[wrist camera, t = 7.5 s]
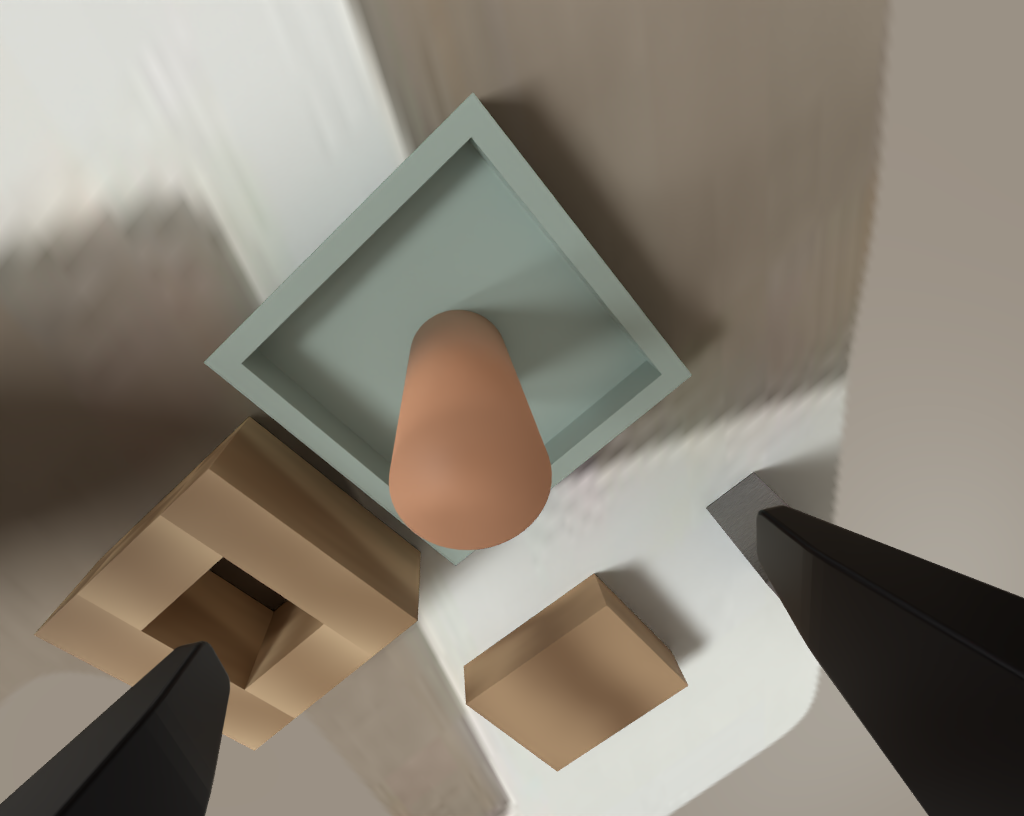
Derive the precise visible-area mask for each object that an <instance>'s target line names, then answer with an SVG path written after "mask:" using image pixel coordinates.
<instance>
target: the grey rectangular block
mask: <svg viewBox="0 0 1024 816" xmlns="http://www.w3.org/2000/svg"><path fill="white" fill-rule="evenodd" d="M778 505H784V506H787V507H789V506H788V505H787V504H786V503H785V502H784V501H783V500H782V499H781V498H780V497H779V496H778V495H777V494H776V493H775V492H774V491H772V490H771V489H770V488H769V487H768V486H767V485H766V484H765V483H764V482H763V481H762V480H761V479H760V478H759V477H758V476H757V475H756V474H755V473H752V474H751V475H750V476H748V477H747V478H746V479H744V480H743V481H742V482H740V483H739V484H738V485H736V486H735V487H734V488H732V489H731V490H730V491H728V492H727V493H726V494H724V495H723V496H722V497H720V498H719V499H718V500H716V501H715V502H714V503H712V504H711V505H710V506H708V507H707V508H706V509H707V510H708V511H709V512H710V514H711V515H712V516H713V517H714V519H715V520H716V521H717V522H718V524H719V525H720V526H721V527H722V529H723V530H724V531H725V532H726V534H727V535H728V536H729V537H730V539H731V540H732V541H733V542H734V544H735V545H736V546H737V547H738V549H739V550H740V551H741V552H742V554H743V555H744V556H745V557H746V559H747V560H748V561H749V562H750V564H751V565H752V566H753V567H754V569H755V570H756V571H757V572H758V574H759V575H760V576H761V577H762V579H763V580H764V581H765V582H766V584H767V585H768V586H769V587H770V588H771V589H772V590H773V591H774V593H775V594H776V595H777V596H778V594H777V593H776V591H775V589H774V587H773V586H772V584H771V582H770V581H769V579H768V577H767V575H766V574H765V572H764V570H763V568H762V567H761V565H760V562H759V560H758V557H757V553H756V515H757V513H758V511H760V510H761V509H765V508H770V507H774V506H778ZM778 597H779V596H778Z"/></svg>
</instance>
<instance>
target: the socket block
mask: <svg viewBox="0 0 1024 816" xmlns="http://www.w3.org/2000/svg"><path fill="white" fill-rule="evenodd" d="M222 557H224V558H226V559H227V560H229V561H230V562H232V563H233V564H235V565H236V566H238V567H239V568H241V569H242V570H244V571H245V572H247V573H248V574H250V575H251V576H253V577H254V578H256V579H257V580H259V581H260V582H262V583H263V584H265V585H266V586H268V587H269V588H271V589H272V590H274V591H275V592H277V593H278V594H280V595H281V596H283V597H284V598H286V599H287V601H286V602H285V603H284V604H283V605H281V606H280V607H279V608H278V609H277V610H276V611H274V612H273V611H272V610H270V609H268V608H267V607H265V606H264V605H262V604H261V603H259V602H258V601H256V600H255V599H253V598H251V597H250V596H248V595H247V594H245V593H244V592H242V591H241V590H239V589H238V588H236V587H234V586H233V585H231V584H230V583H228V582H227V581H225V580H224V579H222V578H221V577H219V576H218V575H216V574H214V573H213V572H211V571H210V570H209V569H210V568H211V567H212V566H214V565H215V564H216V563H217V562H218V561H219V560H220V559H221V558H222ZM420 559H421V552H420V551H418V550H417V549H416V548H415V547H413V546H412V545H411V544H410V543H408V542H407V541H406V540H405V539H403V538H402V537H401V536H400V535H398V534H397V533H396V532H395V531H393V530H392V529H391V528H389V527H388V526H387V525H386V524H384V523H383V522H382V521H381V520H379V519H378V518H377V517H376V516H374V515H373V514H372V513H371V512H369V511H368V510H367V509H366V508H364V507H363V506H362V505H361V504H359V503H358V502H357V501H355V500H354V499H353V498H352V497H350V496H349V495H348V494H347V493H345V492H344V491H343V490H342V489H340V488H339V487H338V486H337V485H335V484H334V483H333V482H332V481H330V480H329V479H328V478H327V477H325V476H324V475H323V474H321V473H320V472H319V471H318V470H316V469H315V468H314V467H313V466H311V465H310V464H309V463H308V462H306V461H305V460H304V459H303V458H301V457H300V456H299V455H298V454H296V453H295V452H294V451H293V450H291V449H290V448H289V447H287V446H286V445H285V444H284V443H282V442H281V441H280V440H279V439H277V438H276V437H275V436H274V435H272V434H271V433H270V432H269V431H267V430H266V429H265V428H264V427H262V426H261V425H260V424H258V423H257V422H256V421H255V420H253V419H252V418H251V417H250V416H249V417H248V418H247V419H246V420H245V421H244V422H243V423H242V424H241V425H240V426H239V427H238V428H237V429H236V430H235V431H234V432H233V433H232V434H231V435H229V436H228V437H227V438H226V439H225V440H224V441H223V442H222V443H221V444H220V445H219V446H218V447H217V448H216V449H215V450H214V451H213V452H212V453H211V454H210V455H209V456H208V457H206V458H205V459H204V460H203V461H202V462H201V463H200V464H199V465H198V466H197V467H196V468H195V469H194V470H193V471H192V472H191V473H190V474H189V475H188V476H187V477H186V478H185V479H183V480H182V481H181V482H180V483H179V484H178V485H177V486H176V487H175V488H174V489H173V490H172V491H171V492H170V493H169V494H168V495H167V496H166V497H165V498H164V499H163V500H161V501H160V502H159V503H158V504H157V505H156V506H155V507H154V508H153V509H152V510H151V511H150V512H149V513H148V514H147V515H146V516H145V517H144V518H143V519H142V520H141V521H140V522H138V523H137V524H136V525H135V526H134V527H133V528H132V529H131V530H130V531H129V532H128V533H127V534H126V535H125V536H124V537H123V538H122V539H121V540H120V541H119V542H118V543H116V544H115V545H114V546H113V547H112V548H111V549H110V550H109V551H108V552H107V553H106V554H105V555H104V556H103V557H102V558H101V559H100V560H99V561H98V562H97V563H96V564H95V566H94V567H93V568H92V569H91V570H90V571H89V572H88V574H87V575H86V576H85V577H84V578H83V579H82V580H81V582H80V583H79V584H78V585H77V586H76V587H75V588H74V590H73V591H72V592H71V593H70V594H69V595H68V596H67V598H66V599H65V600H64V601H63V602H62V603H61V604H60V606H59V607H58V608H57V609H56V610H55V611H54V612H53V614H52V615H51V616H50V617H49V618H48V619H47V620H46V622H45V623H44V624H43V625H42V626H41V627H40V628H39V630H38V631H37V632H36V633H35V634H34V635H35V636H37V637H39V638H41V639H43V640H45V641H46V642H48V643H50V644H52V645H54V646H56V647H58V648H60V649H62V650H64V651H66V652H67V653H69V654H71V655H73V656H75V657H77V658H79V659H81V660H83V661H85V662H87V663H88V664H90V665H92V666H94V667H96V668H98V669H100V670H102V671H104V672H106V673H107V674H109V675H111V676H113V677H115V678H117V679H119V680H121V681H123V682H125V683H127V684H128V685H130V686H132V687H133V686H134V685H135V684H136V683H137V682H138V681H139V680H141V679H142V678H143V677H144V676H145V675H146V674H147V673H148V672H150V671H151V670H152V669H153V668H154V667H155V666H156V665H157V664H159V663H160V662H161V661H162V660H163V659H164V658H165V657H166V656H167V655H169V654H170V653H171V652H172V651H173V650H174V649H176V648H177V647H179V646H182V645H185V644H189V643H194V642H198V641H206V642H208V643H210V644H211V646H212V647H213V649H214V651H215V653H216V654H217V656H218V658H219V660H220V661H221V663H222V665H223V667H224V668H225V670H226V672H227V674H228V676H229V680H230V695H229V700H228V705H227V711H226V716H225V722H224V727H223V732H222V734H224V735H226V736H228V737H229V738H231V739H233V740H235V741H237V742H239V743H241V744H243V745H245V746H247V747H249V748H251V749H252V750H256V749H257V748H258V747H260V746H261V745H262V744H263V743H265V742H266V741H267V740H268V739H270V738H271V737H272V736H273V735H275V734H276V733H277V732H278V731H280V730H281V729H282V728H283V727H284V726H286V725H287V724H288V723H290V722H291V721H292V720H293V719H295V718H296V717H297V716H299V715H300V714H301V713H302V712H304V711H305V710H306V709H307V708H309V707H310V706H311V705H312V704H314V703H315V702H316V701H317V700H319V699H320V698H321V697H322V696H324V695H325V694H326V693H327V692H329V691H330V690H331V689H332V688H334V687H335V686H336V685H337V684H339V683H340V682H341V681H342V680H344V679H345V678H346V677H347V676H349V675H350V674H351V673H352V672H354V671H355V670H356V669H358V668H359V667H360V666H361V665H363V664H364V663H365V662H366V661H368V660H369V659H370V658H371V657H373V656H374V655H375V654H376V653H378V652H379V651H380V650H381V649H383V648H384V647H385V646H386V645H388V644H389V643H390V642H391V641H393V640H394V639H395V638H396V637H398V636H399V635H400V634H401V633H403V632H404V631H405V630H406V629H408V628H409V627H410V626H411V625H413V624H414V623H415V622H416V621H418V602H419V580H420Z"/></svg>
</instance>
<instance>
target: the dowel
mask: <svg viewBox="0 0 1024 816" xmlns="http://www.w3.org/2000/svg"><path fill="white" fill-rule="evenodd" d="M551 483H552V470H551V463H550V459H549V456H548V453H547V450H546V448H545V445H544V443H543V440H542V438H541V435H540V432H539V430H538V427H537V425H536V422H535V420H534V417H533V415H532V412H531V409H530V407H529V404H528V402H527V399H526V397H525V394H524V392H523V389H522V386H521V384H520V381H519V379H518V376H517V374H516V371H515V369H514V366H513V363H512V361H511V358H510V356H509V353H508V351H507V348H506V346H505V343H504V340H503V338H502V336H501V334H500V332H499V331H498V329H497V328H496V327H495V326H494V325H493V324H492V323H491V322H490V321H489V320H488V319H486V318H485V317H483V316H481V315H479V314H477V313H474V312H471V311H467V310H450V311H445V312H442V313H439V314H437V315H435V316H433V317H432V318H430V319H429V320H427V321H426V322H425V323H424V324H423V325H422V326H421V327H420V328H419V330H418V331H417V332H416V334H415V336H414V338H413V341H412V344H411V349H410V354H409V360H408V366H407V372H406V378H405V384H404V390H403V396H402V402H401V407H400V413H399V419H398V425H397V431H396V437H395V443H394V449H393V455H392V461H391V467H390V472H389V491H390V496H391V500H392V503H393V505H394V508H395V510H396V512H397V513H398V515H399V517H400V518H401V519H402V521H403V522H404V523H405V524H406V526H408V527H409V528H410V529H411V530H412V531H413V532H414V533H416V534H417V535H418V536H420V537H421V538H423V539H425V540H427V541H429V542H431V543H433V544H436V545H438V546H442V547H446V548H450V549H457V550H477V549H484V548H489V547H492V546H496V545H499V544H501V543H504V542H506V541H508V540H510V539H512V538H514V537H516V536H517V535H519V534H520V533H521V532H523V531H524V530H525V529H526V528H527V527H529V526H530V525H531V524H532V523H533V522H534V520H535V519H536V518H537V517H538V516H539V514H540V513H541V511H542V510H543V508H544V506H545V504H546V502H547V499H548V496H549V493H550V489H551Z"/></svg>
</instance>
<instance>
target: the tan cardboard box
mask: <svg viewBox="0 0 1024 816" xmlns="http://www.w3.org/2000/svg"><path fill="white" fill-rule="evenodd" d="M464 677H465V695H466V705H468V706H469V707H470V708H472V709H473V710H475V711H476V712H477V713H479V714H480V715H481V716H483V717H484V718H485V719H487V720H488V721H489V722H491V723H492V724H494V725H495V726H496V727H498V728H499V729H500V730H502V731H503V732H504V733H506V734H507V735H508V736H510V737H511V738H513V739H514V740H515V741H517V742H518V743H519V744H521V745H522V746H523V747H525V748H526V749H527V750H529V751H530V752H532V753H533V754H534V755H536V756H537V757H538V758H540V759H541V760H542V761H544V762H545V763H547V764H548V765H549V766H551V767H552V768H553V769H555V770H556V771H559V770H560V769H562V768H563V767H565V766H566V765H568V764H569V763H571V762H573V761H574V760H576V759H577V758H579V757H580V756H582V755H583V754H585V753H586V752H588V751H589V750H591V749H592V748H594V747H595V746H597V745H598V744H600V743H602V742H603V741H605V740H606V739H608V738H609V737H611V736H612V735H614V734H615V733H617V732H618V731H620V730H621V729H623V728H624V727H626V726H627V725H629V724H630V723H632V722H634V721H635V720H637V719H638V718H640V717H641V716H643V715H644V714H646V713H647V712H649V711H650V710H652V709H653V708H655V707H656V706H658V705H659V704H661V703H663V702H664V701H666V700H667V699H669V698H670V697H672V696H673V695H675V694H676V693H678V692H679V691H681V690H682V689H684V688H685V687H687V686H688V684H687V682H686V680H685V678H684V676H683V674H682V672H681V670H680V668H679V666H678V664H677V662H676V660H675V658H674V656H673V654H672V652H671V651H670V650H669V649H668V648H667V647H666V646H665V644H664V643H663V642H662V641H661V640H660V639H659V638H658V637H657V636H656V635H655V634H654V633H653V632H652V631H651V630H650V629H649V628H648V627H647V626H646V625H645V624H644V623H643V622H642V621H641V620H640V619H639V618H638V617H637V616H636V615H635V614H634V613H633V612H632V611H631V610H630V609H629V608H628V607H627V606H626V605H625V604H624V603H623V602H622V601H621V600H620V599H619V598H618V597H617V596H616V595H615V594H614V593H613V592H612V591H611V590H610V589H609V588H608V587H607V586H606V585H605V584H604V583H603V582H602V581H601V580H600V579H599V578H598V577H597V576H596V575H595V574H593V575H591V576H590V577H588V578H587V579H586V580H584V581H583V582H581V583H580V584H579V585H577V586H576V587H574V588H573V589H572V590H570V591H569V592H567V593H566V594H564V595H563V596H562V597H560V598H559V599H557V600H556V601H555V602H553V603H552V604H550V605H549V606H548V607H546V608H545V609H543V610H542V611H541V612H539V613H538V614H536V615H535V616H534V617H532V618H531V619H529V620H528V621H527V622H525V623H524V624H522V625H521V626H520V627H518V628H517V629H515V630H514V631H513V632H511V633H510V634H508V635H507V636H506V637H504V638H503V639H501V640H500V641H499V642H497V643H496V644H494V645H493V646H491V647H490V648H489V649H487V650H486V651H484V652H483V653H482V654H480V655H479V656H477V657H476V658H475V659H473V660H472V661H470V662H469V663H468V664H466V665H465V666H464Z"/></svg>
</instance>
